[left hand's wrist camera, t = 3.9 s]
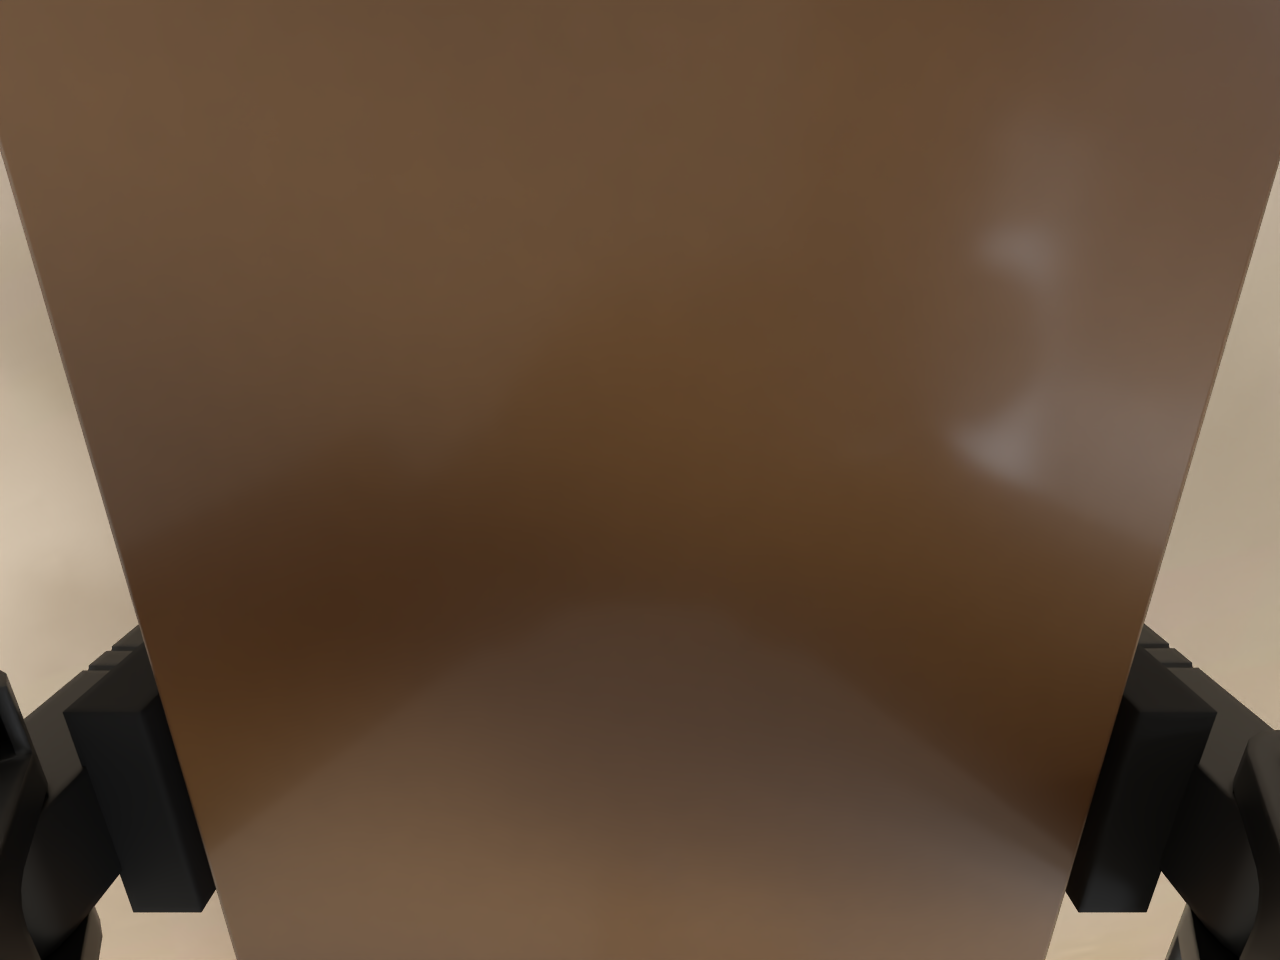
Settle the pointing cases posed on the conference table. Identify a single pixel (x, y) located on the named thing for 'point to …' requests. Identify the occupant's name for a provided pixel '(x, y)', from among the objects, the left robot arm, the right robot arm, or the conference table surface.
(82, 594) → the conference table surface
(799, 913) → the slab
